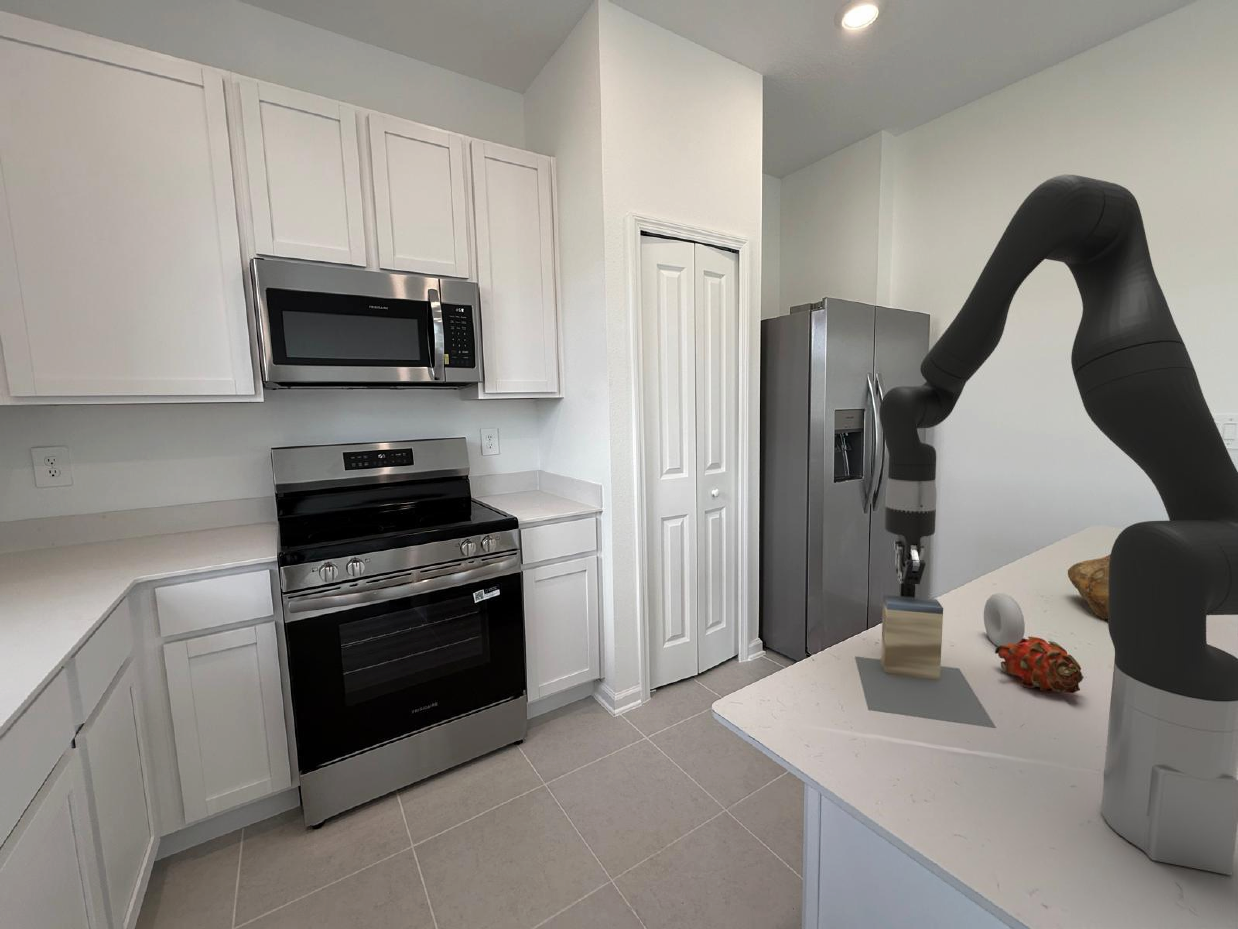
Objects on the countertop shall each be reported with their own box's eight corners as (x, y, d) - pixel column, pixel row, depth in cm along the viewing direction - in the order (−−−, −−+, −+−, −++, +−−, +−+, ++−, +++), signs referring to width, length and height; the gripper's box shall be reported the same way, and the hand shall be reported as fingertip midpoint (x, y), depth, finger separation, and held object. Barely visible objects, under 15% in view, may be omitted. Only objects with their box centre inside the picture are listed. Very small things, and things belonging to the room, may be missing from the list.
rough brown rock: (1084, 591, 126) (1081, 529, 125) (1185, 606, 113) (1183, 536, 112) (1049, 618, 113) (1046, 549, 112) (1159, 639, 99) (1156, 560, 98)
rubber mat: (996, 732, 73) (996, 727, 73) (868, 713, 78) (868, 709, 78) (958, 671, 89) (958, 668, 89) (854, 659, 94) (854, 656, 94)
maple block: (939, 680, 85) (943, 608, 84) (884, 673, 88) (887, 603, 86) (933, 668, 89) (936, 599, 88) (880, 662, 92) (883, 594, 90)
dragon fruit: (1084, 720, 78) (997, 692, 89) (1106, 675, 81) (1019, 653, 92) (1059, 681, 76) (974, 657, 87) (1083, 636, 79) (997, 618, 90)
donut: (1027, 661, 92) (1031, 605, 91) (1004, 659, 93) (1008, 604, 92) (998, 636, 102) (1001, 585, 101) (978, 635, 102) (981, 584, 101)
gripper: (946, 513, 83) (941, 621, 84) (926, 499, 95) (922, 592, 97) (892, 511, 85) (889, 616, 87) (879, 497, 97) (876, 589, 99)
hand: (906, 603), depth 92 cm, fingers closed
